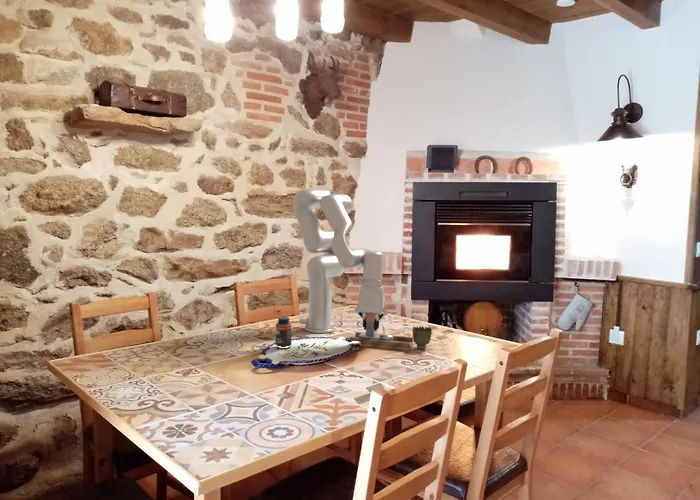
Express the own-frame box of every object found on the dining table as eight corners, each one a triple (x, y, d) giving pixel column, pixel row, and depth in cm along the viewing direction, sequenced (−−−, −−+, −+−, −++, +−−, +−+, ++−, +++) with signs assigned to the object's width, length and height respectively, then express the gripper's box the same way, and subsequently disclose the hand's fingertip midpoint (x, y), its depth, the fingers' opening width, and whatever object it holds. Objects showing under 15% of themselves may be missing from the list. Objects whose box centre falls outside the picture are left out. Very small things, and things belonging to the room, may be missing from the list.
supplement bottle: (292, 345, 213) (293, 316, 212) (289, 350, 207) (290, 320, 206) (277, 344, 214) (277, 315, 213) (273, 349, 208) (274, 319, 207)
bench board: (349, 345, 216) (349, 338, 216) (356, 338, 226) (356, 331, 225) (408, 351, 210) (409, 343, 210) (412, 344, 220) (413, 337, 220)
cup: (432, 351, 210) (433, 331, 209) (412, 351, 211) (413, 330, 210) (429, 346, 218) (430, 326, 217) (410, 345, 218) (411, 325, 217)
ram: (358, 340, 217) (359, 314, 216) (362, 336, 223) (363, 310, 222) (391, 344, 214) (392, 317, 213) (394, 340, 220) (395, 313, 218)
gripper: (349, 283, 215) (347, 329, 217) (391, 286, 211) (389, 333, 213) (354, 280, 222) (352, 325, 224) (395, 283, 218) (393, 329, 220)
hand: (370, 329), depth 218 cm, fingers closed on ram, 3 cm apart
